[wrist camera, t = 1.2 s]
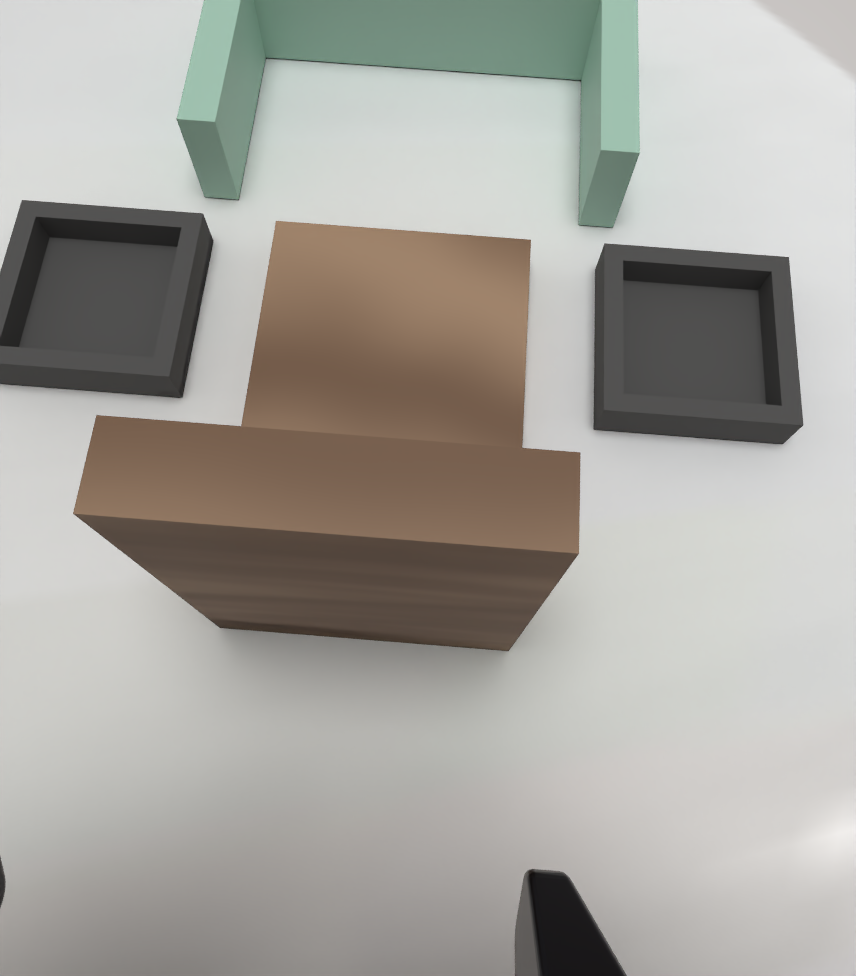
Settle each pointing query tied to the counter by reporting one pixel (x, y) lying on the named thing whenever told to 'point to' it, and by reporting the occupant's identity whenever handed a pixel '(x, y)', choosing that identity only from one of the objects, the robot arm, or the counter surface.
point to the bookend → (358, 454)
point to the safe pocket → (426, 45)
